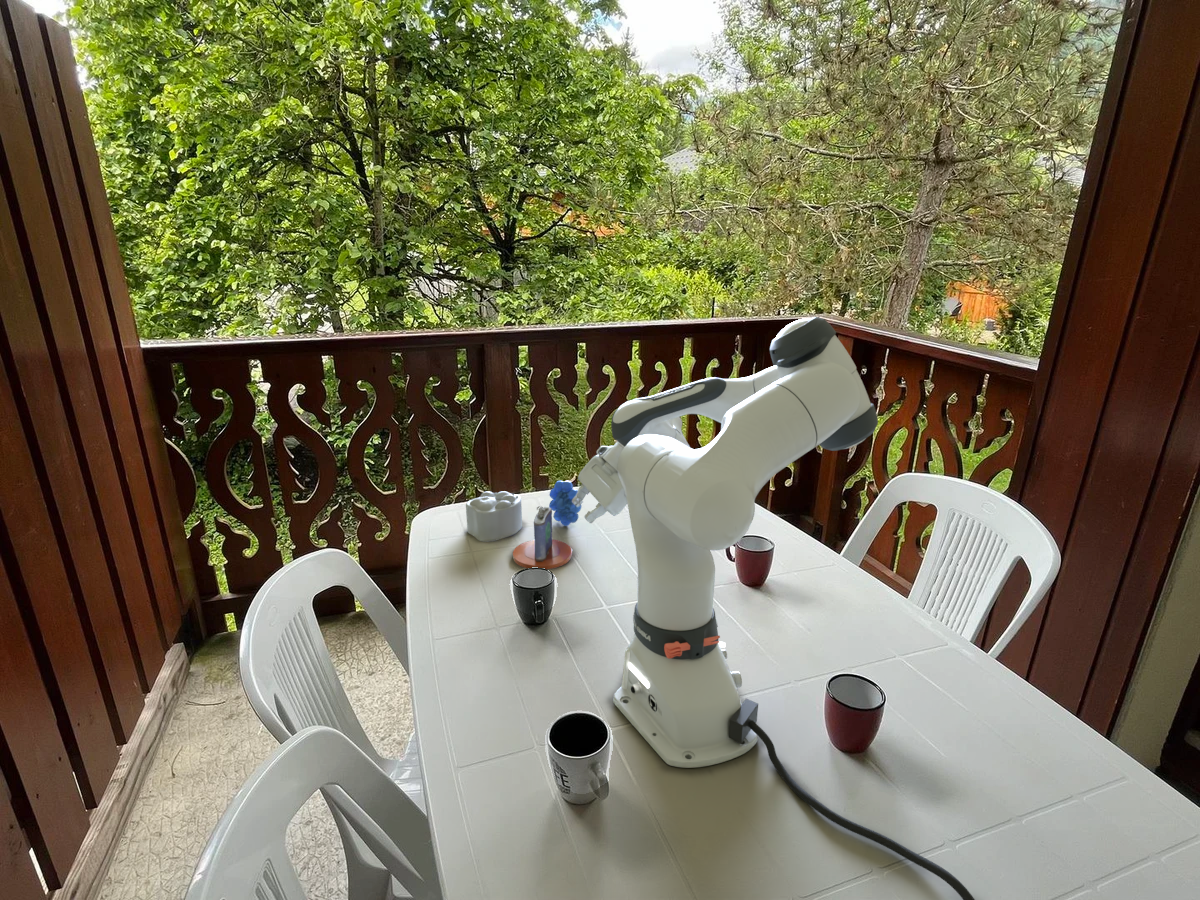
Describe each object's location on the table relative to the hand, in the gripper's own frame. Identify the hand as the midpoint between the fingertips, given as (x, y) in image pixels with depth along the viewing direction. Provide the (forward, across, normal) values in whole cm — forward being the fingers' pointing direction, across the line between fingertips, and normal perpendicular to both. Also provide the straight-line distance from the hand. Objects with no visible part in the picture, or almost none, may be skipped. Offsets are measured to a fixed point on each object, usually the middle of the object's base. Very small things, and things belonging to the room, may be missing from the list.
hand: (580, 512), depth 140 cm
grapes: (+6, +14, -7) cm, 17 cm away
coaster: (+13, 0, 0) cm, 13 cm away
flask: (+12, 0, 0) cm, 12 cm away
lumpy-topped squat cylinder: (+18, +17, +5) cm, 25 cm away
